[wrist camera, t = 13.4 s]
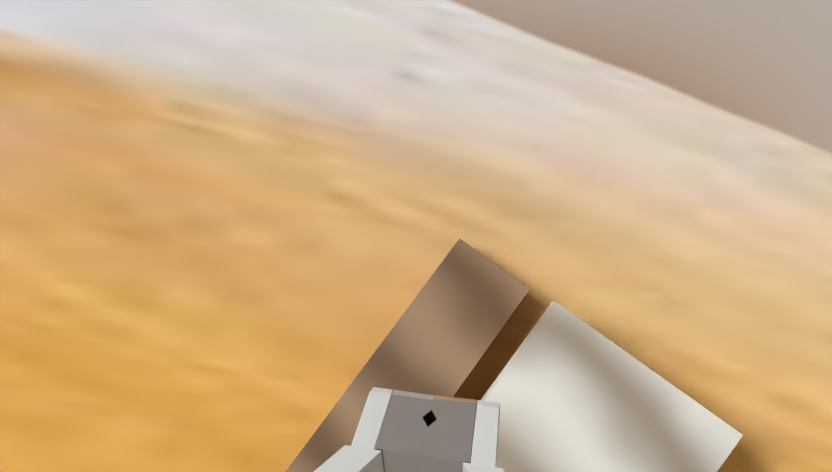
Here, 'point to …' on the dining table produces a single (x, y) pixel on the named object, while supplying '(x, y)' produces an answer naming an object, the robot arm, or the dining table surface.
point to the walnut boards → (426, 344)
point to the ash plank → (597, 408)
